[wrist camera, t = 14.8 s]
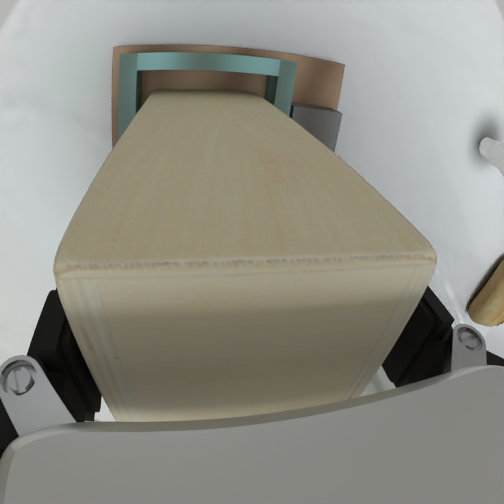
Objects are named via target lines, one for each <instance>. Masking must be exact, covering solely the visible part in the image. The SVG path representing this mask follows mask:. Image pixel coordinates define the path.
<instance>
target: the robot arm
mask: <svg viewBox="0 0 504 504" xmlns="http://www.w3.org/2000/svg"><path fill="white" fill-rule="evenodd" d="M453 322H454V318H453V317H452V316H451V314H450V313H449V312H448V310H447V309H446V308H445V306H444V305H443V304H442V303H441V301H440V300H439V299H438V298H437V296H436V295H435V294H434V293H433V291H432V290H431V289H430V288H429V286H427V288H426V290H425V292H424V294H423V296H422V297H421V299H420V301H419V303H418V305H417V307H416V309H415V310H414V312H413V314H412V315H411V317H410V319H409V321H408V322H407V324H406V326H405V327H404V329H403V331H402V333H401V334H400V336H399V338H398V339H397V341H396V343H395V344H394V346H393V348H392V349H391V351H390V352H389V354H388V356H387V357H386V359H385V360H384V362H383V363H382V365H381V366H380V368H379V369H378V371H377V372H376V374H375V375H374V377H373V378H372V380H371V381H370V383H369V384H368V386H367V387H366V389H365V390H364V392H363V393H362V395H361V396H360V397H358V398H353V399H349V400H344V401H340V402H335V403H330V404H324V405H319V406H314V407H308V408H302V409H296V410H289V411H283V412H275V413H268V414H260V415H252V416H242V417H232V418H220V419H206V420H188V421H159V422H84V421H94V416H95V412H99V411H100V408H101V397H102V395H101V393H100V391H99V389H98V387H97V385H96V383H95V381H94V379H93V376H92V374H91V372H90V370H89V368H88V366H87V364H86V361H85V359H84V357H83V355H82V352H81V350H80V348H79V346H78V343H77V341H76V339H75V336H74V334H73V331H72V329H71V326H70V324H69V321H68V319H67V316H66V313H65V311H64V308H63V305H62V303H61V300H60V297H59V294H58V290H57V288H56V290H52V291H50V292H49V294H48V296H47V299H46V301H45V304H44V307H43V309H42V312H41V315H40V317H39V320H38V323H37V326H36V329H35V332H34V335H33V337H32V340H31V344H30V347H29V350H28V353H27V356H25V355H20V356H14V357H12V358H9V359H8V360H7V361H5V362H4V363H3V364H2V365H1V367H0V504H504V359H503V358H501V357H499V356H497V355H495V354H493V353H491V352H489V351H487V350H486V344H485V340H484V338H483V336H482V335H481V334H480V333H479V331H477V330H476V329H475V328H473V327H472V326H470V325H466V324H459V325H456V326H455V327H454V329H452V328H451V327H450V326H451V325H452V323H453Z"/></svg>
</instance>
